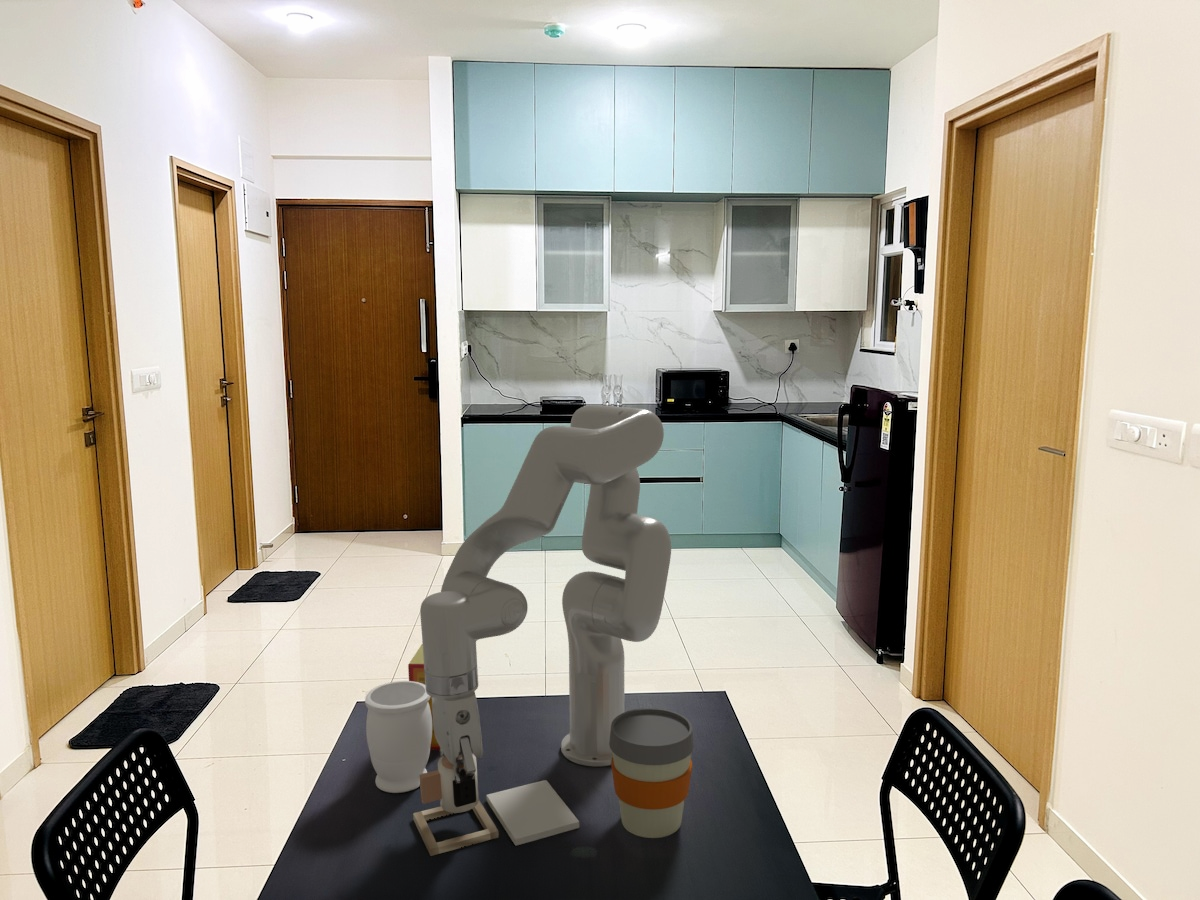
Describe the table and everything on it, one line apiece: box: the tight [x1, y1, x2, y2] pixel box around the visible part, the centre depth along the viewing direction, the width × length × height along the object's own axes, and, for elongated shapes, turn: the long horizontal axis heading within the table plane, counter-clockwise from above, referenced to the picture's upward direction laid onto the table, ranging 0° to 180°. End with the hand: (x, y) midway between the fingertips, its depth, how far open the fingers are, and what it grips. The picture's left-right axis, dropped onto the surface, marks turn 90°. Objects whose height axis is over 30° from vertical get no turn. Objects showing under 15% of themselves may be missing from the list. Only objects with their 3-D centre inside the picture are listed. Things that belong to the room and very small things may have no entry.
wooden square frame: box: [412, 800, 499, 857], centre depth 128 cm, size 10×10×1 cm
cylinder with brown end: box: [419, 753, 480, 814], centre depth 127 cm, size 8×6×7 cm
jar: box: [364, 680, 432, 794], centre depth 140 cm, size 11×10×15 cm
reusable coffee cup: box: [609, 707, 695, 839], centre depth 128 cm, size 13×12×15 cm
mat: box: [486, 779, 580, 846], centre depth 131 cm, size 10×13×1 cm
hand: (458, 791), depth 127 cm, fingers closed on cylinder with brown end, 5 cm apart
